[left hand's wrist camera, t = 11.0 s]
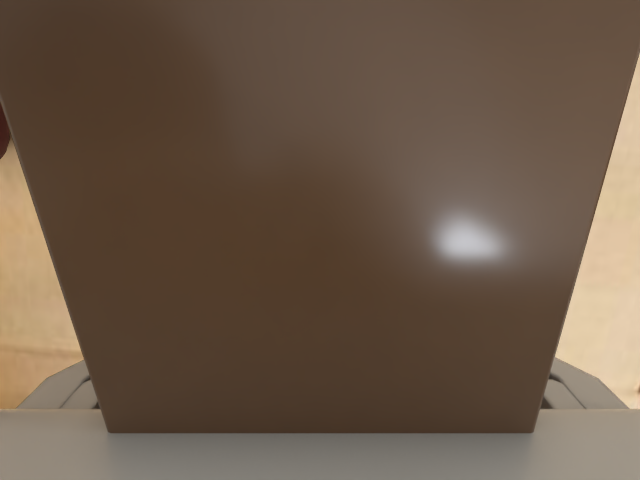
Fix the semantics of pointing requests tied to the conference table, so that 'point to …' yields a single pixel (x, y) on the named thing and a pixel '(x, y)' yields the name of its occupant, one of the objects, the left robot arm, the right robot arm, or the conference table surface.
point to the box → (317, 200)
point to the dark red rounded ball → (3, 133)
